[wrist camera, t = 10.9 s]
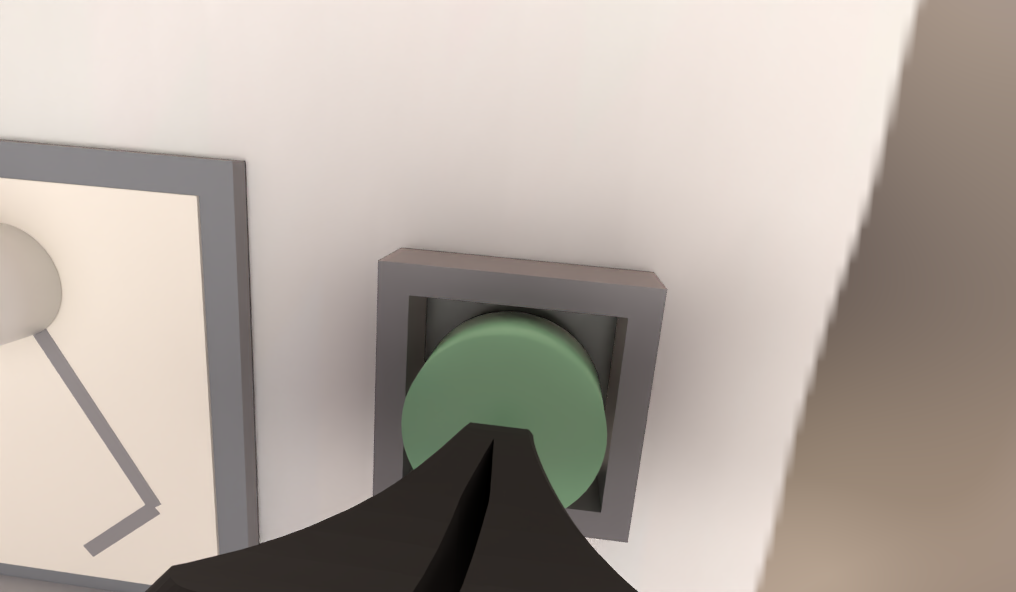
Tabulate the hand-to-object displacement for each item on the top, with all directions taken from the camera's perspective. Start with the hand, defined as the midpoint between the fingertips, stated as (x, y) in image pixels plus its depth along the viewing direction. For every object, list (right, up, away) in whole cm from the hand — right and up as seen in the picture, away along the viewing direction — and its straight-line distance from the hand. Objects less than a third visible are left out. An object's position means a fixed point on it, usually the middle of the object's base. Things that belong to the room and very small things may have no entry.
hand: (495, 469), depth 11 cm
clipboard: (-14, 0, +6) cm, 15 cm away
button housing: (0, +1, +5) cm, 5 cm away
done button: (0, +1, +3) cm, 4 cm away
